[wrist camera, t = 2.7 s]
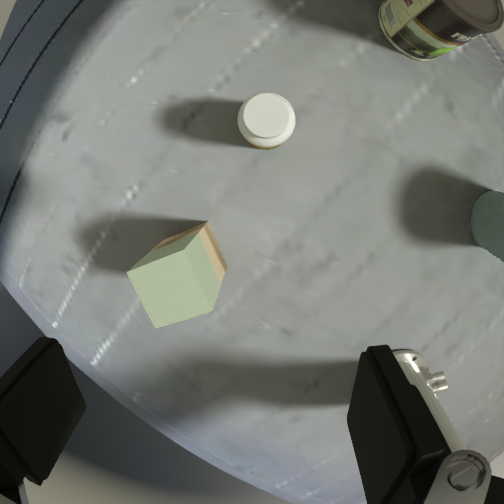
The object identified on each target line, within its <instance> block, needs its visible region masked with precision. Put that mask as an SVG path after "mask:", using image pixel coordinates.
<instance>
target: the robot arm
mask: <svg viewBox="0 0 504 504" xmlns="http://www.w3.org/2000/svg"><path fill="white" fill-rule="evenodd" d="M428 371H429V370H428V364H427V362H426V360H425V359H424V358H423V356H422V355H420V354H419V353H417V352H415V351H411V350H399V351H394V352H392V351H391V349H390V347H389V346H388V345H379V346H369V347H368V348H367V350H366V352H362V353H361V355H360V360H359V365H358V370H357V375H356V380H355V384H354V389H353V393H352V398H351V402H350V406H349V410H348V414H347V424H348V428H349V432H350V436H351V440H352V443H353V447H354V451H355V455H356V459H357V463H358V467H359V471H360V475H361V479H362V483H363V487H364V492H365V496H366V500H367V504H504V479H503V478H499V477H496V476H493V475H491V468H490V464H489V462H488V461H487V459H486V458H485V457H484V456H483V455H481V454H480V453H478V452H476V451H473V450H467V449H466V447H465V446H464V444H463V442H462V440H461V439H460V437H459V435H458V433H457V431H456V430H455V428H454V426H453V424H452V423H451V421H450V419H449V417H448V416H447V414H446V412H445V410H444V409H443V407H442V405H441V404H440V402H439V400H438V399H437V397H436V395H435V394H434V393H438V392H442V391H445V390H446V389H447V382H446V380H442V379H444V373H443V371H442V372H438V373H435V374H431V373H429V372H428ZM438 380H441V381H438ZM433 381H438V382H435V383H433V384H432V382H433ZM85 408H86V405H85V401H84V399H83V397H82V394H81V392H80V390H79V388H78V386H77V383H76V381H75V378H74V376H73V374H72V371H71V369H70V366H69V364H68V361H67V358H66V356H65V353H64V350H63V348H62V346H61V345H60V344H59V342H58V341H57V340H56V339H54V338H48V337H40V338H39V339H38V340H37V341H36V342H35V343H34V344H33V345H32V346H31V347H30V348H29V349H28V350H27V351H26V352H25V353H24V354H23V355H22V356H21V357H20V358H19V359H18V360H17V361H16V362H15V363H14V364H13V365H12V366H11V367H10V368H9V369H8V370H7V371H6V373H5V374H4V375H3V376H2V377H1V378H0V504H29V502H28V498H27V494H26V490H25V485H24V481H23V479H24V477H26V478H27V479H28V480H29V481H31V482H33V483H35V484H37V485H39V486H41V484H42V482H43V480H46V479H47V478H48V476H49V474H50V472H51V471H52V469H53V467H54V465H55V463H56V461H57V459H58V457H59V456H60V454H61V452H62V450H63V449H64V447H65V445H66V443H67V441H68V440H69V438H70V436H71V434H72V433H73V431H74V429H75V427H76V426H77V424H78V422H79V420H80V419H81V417H82V415H83V413H84V412H85Z"/></svg>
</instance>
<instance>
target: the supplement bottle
mask: <svg viewBox="0 0 504 504" xmlns="http://www.w3.org/2000/svg"><path fill="white" fill-rule="evenodd" d="M238 126H239V130H240V132H241V134H242V135H243V137H244V138H245V139H246V140H247V141H248V142H249V143H250V144H251V145H252V146H254V147H256V148H259V149H265V150H268V149H274V148H276V147H278V146H280V145H281V144H283V143H284V142H285V141H286V140H287V139H288V138H289V137H290V135H291V134H292V132H293V130H294V127H295V114H294V111H293V108H292V106H291V105H290V104H289V102H288V101H287V100H286V99H284V98H283V97H281V96H279V95H277V94H274V93H268V92H264V93H258V94H255V95H253V96H251V97H250V98H248V99H247V100H246V101H245V102H244V103H243V104H242V106H241V108H240V110H239V113H238Z"/></svg>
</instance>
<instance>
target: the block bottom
mask: <svg viewBox="0 0 504 504" xmlns="http://www.w3.org/2000/svg"><path fill="white" fill-rule="evenodd" d="M197 233H199V235H200V237H201V240H202V242H203V244H204V247H205V249H206V251H207V254H208V256H209V258H210V261H211V263H212V265H213V267H214V270H215V272H216V274H217V276H218V279H219V281H220V283H222V280H223V277H224V274H225V271H226V268H227V264H226V262H225V260H224V257H223V255H222V252H221V250H220V248H219V245H218V243H217V241H216V238H215V236H214V233H213V231H212V229H211V226H210V224H209V221H208V222H205V223H203V224H200V225H197V226H195V227H192V228H190V229H187V230H185V231H182V232H180V233H177V234H175V235H172V236H170V237H167V238H165V239H164V240H163V241H161V242H160V243H159V244H158V245H157V246H156V247H154V248H153V249H152V250H151V251H154V250H156V249H159V248H161V247H164V246H166V245H169V244H171V243H174V242H176V241H179V240H181V239H184V238H186V237H189V236H191V235H194V234H197ZM151 251H150V252H151Z"/></svg>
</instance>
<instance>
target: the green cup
mask: <svg viewBox="0 0 504 504" xmlns="http://www.w3.org/2000/svg"><path fill="white" fill-rule="evenodd" d="M470 227H471V232H472V236H473V238H474V240H475V241H476V242H477V244H478V245H479V246H481V247H482V248H484V249H486V250H488V251H489V252H490V253H492V254H493V255H494V256H496V257H497V258H500V259H501V261H503V262H504V193H502V192H498V191H488V192H485V193H483V194H482V195H481V196H480V197H479V198H478V199H477V200H476V202H475V204H474V206H473V209H472V212H471V218H470Z"/></svg>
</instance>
